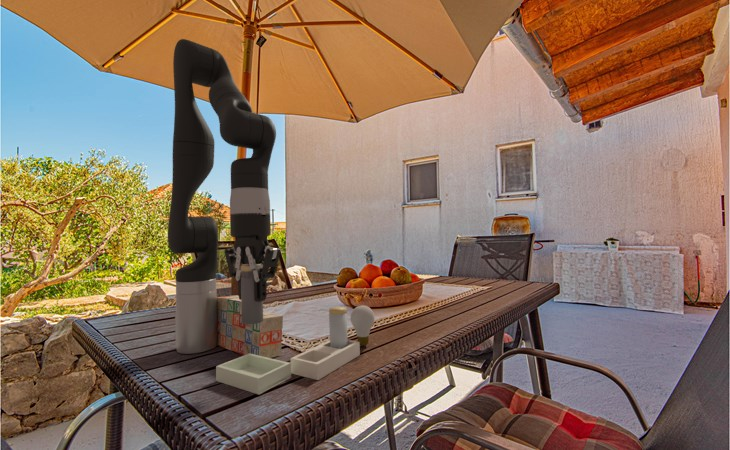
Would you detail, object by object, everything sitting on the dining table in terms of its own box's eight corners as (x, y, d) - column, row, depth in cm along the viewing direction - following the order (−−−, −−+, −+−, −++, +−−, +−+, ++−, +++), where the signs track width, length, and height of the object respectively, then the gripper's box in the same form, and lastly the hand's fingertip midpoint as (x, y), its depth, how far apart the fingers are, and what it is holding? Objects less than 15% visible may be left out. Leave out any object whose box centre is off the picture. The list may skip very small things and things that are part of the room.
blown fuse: (237, 322, 66) (236, 265, 66) (253, 318, 69) (252, 264, 70) (251, 325, 64) (249, 266, 64) (267, 320, 67) (266, 264, 67)
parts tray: (216, 380, 66) (216, 366, 66) (249, 366, 73) (249, 353, 73) (258, 394, 60) (258, 378, 60) (291, 377, 66) (290, 363, 67)
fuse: (326, 358, 76) (325, 309, 76) (337, 353, 79) (336, 305, 80) (341, 361, 74) (339, 311, 74) (351, 355, 77) (350, 307, 78)
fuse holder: (290, 373, 69) (290, 358, 69) (335, 350, 81) (334, 337, 81) (317, 380, 65) (317, 364, 65) (359, 355, 78) (359, 341, 78)
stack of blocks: (282, 355, 79) (283, 302, 80) (258, 362, 74) (260, 305, 76) (236, 339, 93) (238, 294, 94) (213, 344, 89) (216, 296, 90)
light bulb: (372, 351, 80) (371, 308, 80) (348, 350, 81) (347, 308, 82) (377, 343, 86) (375, 303, 86) (354, 342, 87) (353, 303, 87)
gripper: (211, 214, 68) (212, 300, 67) (260, 209, 60) (262, 306, 60) (242, 215, 74) (244, 294, 73) (290, 211, 67) (292, 299, 66)
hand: (252, 299), depth 67 cm, fingers closed on blown fuse, 4 cm apart
